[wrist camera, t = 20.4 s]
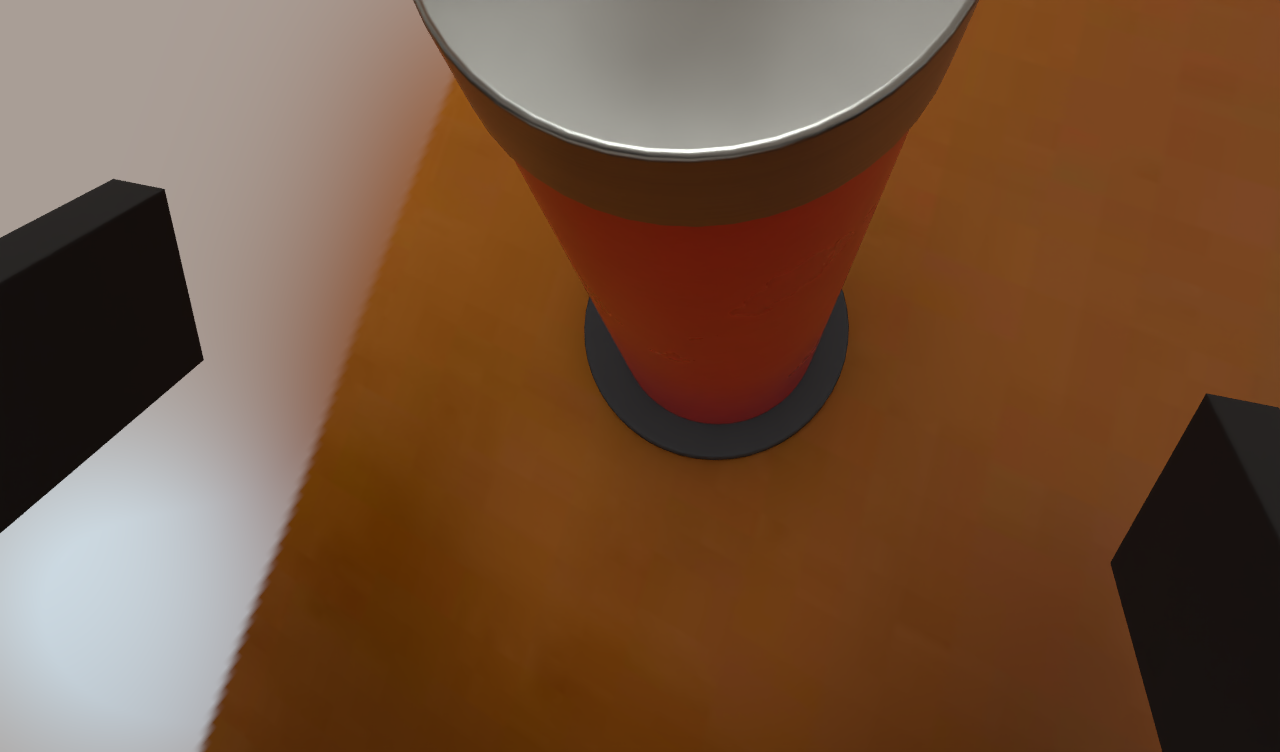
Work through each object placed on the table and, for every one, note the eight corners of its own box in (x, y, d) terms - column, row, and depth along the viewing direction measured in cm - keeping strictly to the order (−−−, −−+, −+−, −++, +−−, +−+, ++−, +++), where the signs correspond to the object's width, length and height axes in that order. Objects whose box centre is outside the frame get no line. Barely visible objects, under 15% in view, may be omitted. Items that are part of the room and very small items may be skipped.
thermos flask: (737, 471, 20) (752, 286, 6) (577, 347, 21) (272, -59, 7) (862, 309, 20) (1146, -211, 6) (700, 194, 21) (644, -474, 7)
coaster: (739, 514, 20) (739, 513, 19) (536, 354, 21) (531, 349, 21) (899, 307, 20) (903, 301, 20) (692, 162, 22) (691, 153, 21)
